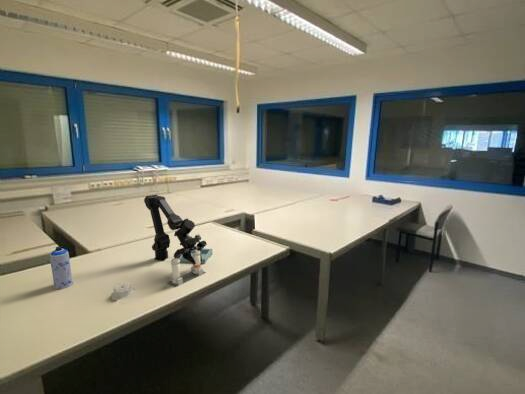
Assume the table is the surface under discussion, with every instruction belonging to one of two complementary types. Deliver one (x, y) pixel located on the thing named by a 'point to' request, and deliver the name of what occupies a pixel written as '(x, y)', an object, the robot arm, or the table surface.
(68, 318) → the table surface
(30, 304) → the table surface
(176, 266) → the fuse
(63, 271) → the aerosol can
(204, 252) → the tray
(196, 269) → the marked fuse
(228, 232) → the table surface
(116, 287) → the mechanical component
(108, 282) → the table surface
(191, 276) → the fuse holder
